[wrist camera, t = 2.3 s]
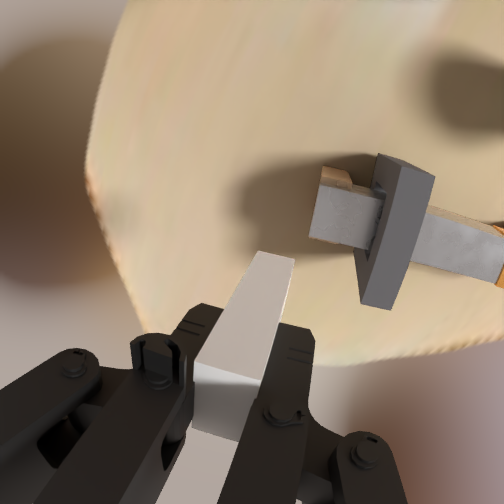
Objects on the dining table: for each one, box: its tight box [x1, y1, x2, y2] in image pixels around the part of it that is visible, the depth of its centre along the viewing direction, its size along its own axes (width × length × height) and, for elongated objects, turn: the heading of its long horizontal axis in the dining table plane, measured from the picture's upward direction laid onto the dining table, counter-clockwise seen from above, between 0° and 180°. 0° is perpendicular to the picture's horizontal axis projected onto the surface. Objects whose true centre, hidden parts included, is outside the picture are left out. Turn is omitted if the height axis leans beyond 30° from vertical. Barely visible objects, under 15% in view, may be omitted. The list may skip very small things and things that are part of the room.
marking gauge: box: [308, 166, 504, 288], centre depth 25 cm, size 5×24×8 cm, turn 82°
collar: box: [353, 153, 435, 311], centre depth 24 cm, size 10×2×10 cm, turn 172°
